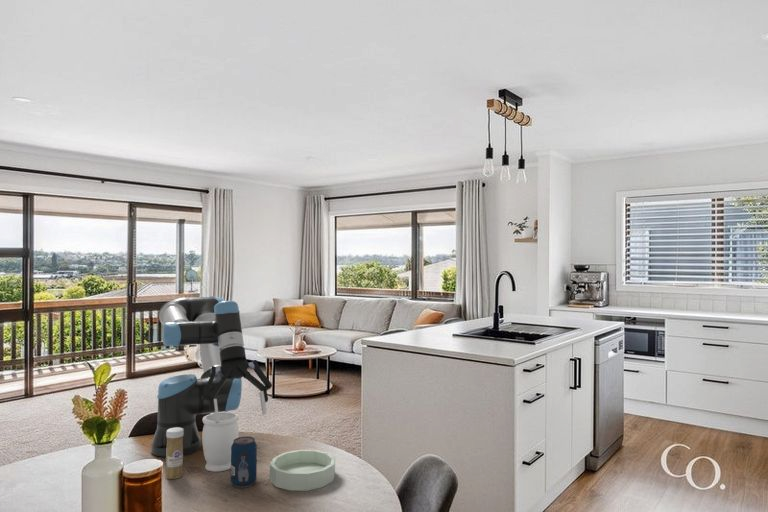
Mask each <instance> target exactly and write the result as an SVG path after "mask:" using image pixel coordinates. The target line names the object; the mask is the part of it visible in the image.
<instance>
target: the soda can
mask: <svg viewBox="0 0 768 512" xmlns="http://www.w3.org/2000/svg"><path fill="white" fill-rule="evenodd" d="M257 444H258V443H257V442H256V439H255V438H254V437H253V436H240V437H239V436H238V438H236V439H234V443H233V444H232V446H231V468H230V482H231V483H232V485H233V486H234V487H235V488H247V487H250V485H251V486H253V485H254V483H255V481H256V480H257V476H258V475H257V470H258V469H257V468H258V467H257V463H258V462H257V461H258V459H257V458H258V454H257V453H258V450H257V449H258V445H257Z"/></svg>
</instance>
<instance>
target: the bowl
mask: <svg viewBox="0 0 768 512" xmlns="http://www.w3.org/2000/svg"><path fill="white" fill-rule="evenodd" d="M335 475H336V457H334V456H333V455H332V454H331V453H329V452H326V451H322V450H318V449H317V450H316V449H298V450H297V449H296V450H291V451H286V452H283V453H281V454H279V455H277V456H275V457H273V458H272V460H271V462H270V463H269V481H270V482H271V483H272V484H273V486H274V487H275V488H279V489H283V490H286V491H289V492H290V491H301V492H304V491H306V492H307V491H313V490H315V489H321V488H324V487H326V486H328V485H329V484H331V483H332V482H333V481H335Z"/></svg>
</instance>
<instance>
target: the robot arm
mask: <svg viewBox="0 0 768 512" xmlns="http://www.w3.org/2000/svg"><path fill="white" fill-rule="evenodd" d="M240 313H241V312H240V309H239V305H238V302H236V301H235V300H224V299H223V298H222V297H220V296H199V297H198V296H195V297H193V296H191V297H190V296H189V297H186V296H185V297H184V296H181V297H177V298H174V299H171V300H170V301H167V302H166V303H164V304H163V305H162V306H161V307H160V310H159V312H158V320H159V322H160V323H161V325H162V333H161V334H162V335H161V337H162V339H161V340H162V344H163V345H164V346H165V347H166V346H167V347H177V346H190V345H192V346H193V345H195V346H196V345H199V348H200V349H199V350H200V355H201V362H202V368H203V369H202V370H203V373H202V374H201V376H200V378H198V377H197V375H196V374H191V373H189V374H180V375H175V376H171V377H168V378H166V379H164V380H162V381H161V382H160V383H159V385H158V387H157V388H158V390H157V391H158V392H157V397H156V398H157V422H156V423H157V425H156V430H155V433H154V434H153V435H154V436H153V439H152V441H151V443H150V444H151V445H150V453H151V454H152V455H153V456H157V457H162V458H166V448H167V437H166V432H167V430H168V429H170V428H175V427H180V428H183V429H184V435H183V456H185V455H190V454H192V453H195V452H196V451H198V450H199V449H200V448H201V445H202V438H201V436H200V432H199V430H198V427H197V423H196V416H199V415H205V414H206V415H208V414H213V413H214V414H215V422H216V424H217V423H219V414H218V413H220V412H230V411H235V410H237V409H238V408H239V407H240V405H241V399H242V386H243V381H242V379H244V380H245V379H246V380H247V381H248V382H250V383H251V385H253V386H255V388H257V389H258V390H259V391H260V392H259V401H260V406H261V413H262V415H263V416H264V415H266V414H267V406H266V403H268V400H269V397H268V390H271V388H272V387H273V384H272V382H271V381H270V380H269V378H268V377H267V376H266V375H265V373H264V372H263V370H262V369H261V367H260V365H259V362H258V360H257V359H254V360H253V361H251V362H248V361H247V357H246V355H247V354H246V350H245V347H244V346H245V342H244V336H243V329H242V323H241V315H240ZM249 368H251V369H252V370H253V371H254V373H255V374H256V375H257V377H258V378H259V379H260V381H259V380H258V379H257V378H256V377H255V376H254V375H252V373H251V372H250V371H249V370H248V369H249Z"/></svg>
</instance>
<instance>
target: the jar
mask: <svg viewBox="0 0 768 512" xmlns="http://www.w3.org/2000/svg"><path fill="white" fill-rule="evenodd" d="M218 414H219V423H217V424H216V422H215V414H214V413H208V414H206V415H205V416H203V417H202V423H203V428H202V433H201V435H202V436H201V445H202V449H203V456H204V459H205V461H206V463H205V467H204V468H205V470H206V471H209V472H214V473H217V472H225V471H228V470H231V446H232V444H233V443H234V439H236V438H239V426H238V422H237V421H238V420H239V414H237V413H235V412H230V411H227V412H218Z"/></svg>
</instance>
